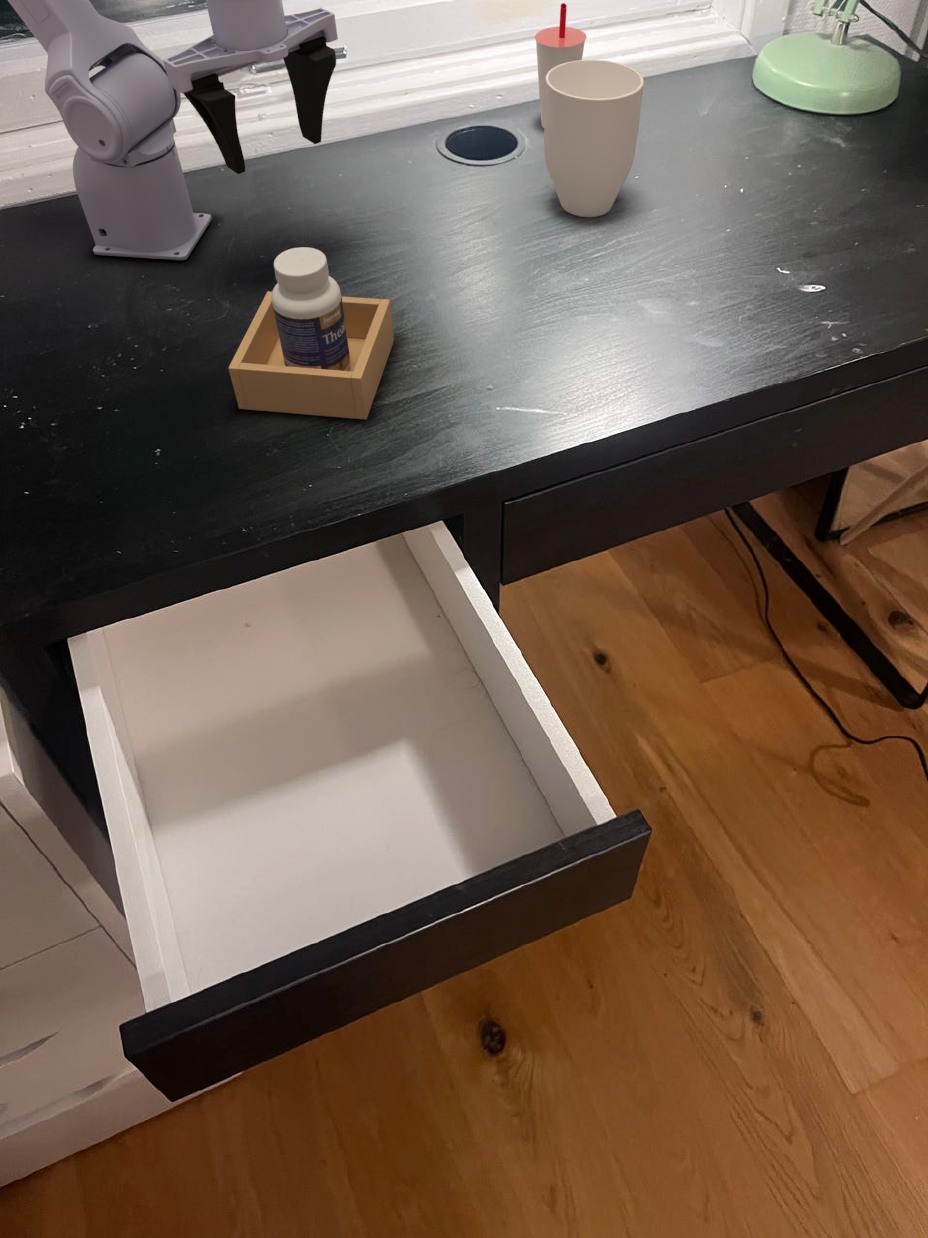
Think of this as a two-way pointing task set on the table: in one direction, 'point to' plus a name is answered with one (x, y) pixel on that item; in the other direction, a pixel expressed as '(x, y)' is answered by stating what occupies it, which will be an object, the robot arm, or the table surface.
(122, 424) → the table surface
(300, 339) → the pill bottle
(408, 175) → the table surface
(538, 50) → the cup
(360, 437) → the table surface
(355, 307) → the desk tray
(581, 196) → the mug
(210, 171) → the table surface
